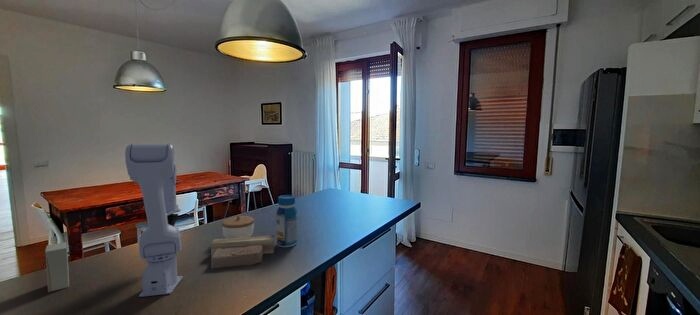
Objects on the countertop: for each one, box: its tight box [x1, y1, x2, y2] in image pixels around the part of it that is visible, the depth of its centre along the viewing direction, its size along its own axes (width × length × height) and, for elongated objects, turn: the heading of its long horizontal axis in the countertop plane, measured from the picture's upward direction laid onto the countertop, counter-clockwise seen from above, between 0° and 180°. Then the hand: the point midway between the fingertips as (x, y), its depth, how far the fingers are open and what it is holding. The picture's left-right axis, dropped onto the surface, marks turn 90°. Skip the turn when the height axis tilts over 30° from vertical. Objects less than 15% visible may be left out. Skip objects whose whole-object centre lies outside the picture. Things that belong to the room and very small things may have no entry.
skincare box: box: [45, 241, 70, 293], centre depth 82 cm, size 6×4×12 cm
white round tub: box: [221, 214, 255, 239], centre depth 117 cm, size 13×13×11 cm
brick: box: [210, 244, 264, 269], centre depth 100 cm, size 17×8×5 cm, turn 104°
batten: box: [210, 235, 275, 259], centre depth 106 cm, size 4×22×6 cm, turn 102°
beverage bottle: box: [275, 194, 298, 248], centre depth 114 cm, size 8×8×20 cm
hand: (168, 236), depth 96 cm, fingers closed
